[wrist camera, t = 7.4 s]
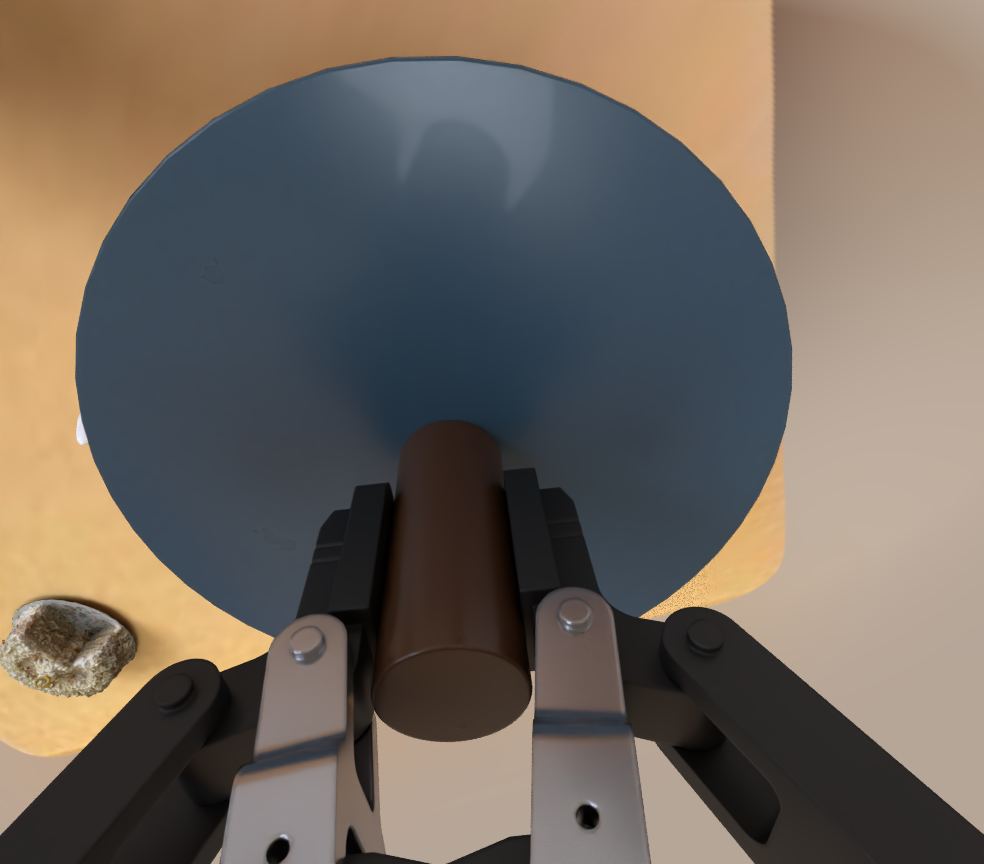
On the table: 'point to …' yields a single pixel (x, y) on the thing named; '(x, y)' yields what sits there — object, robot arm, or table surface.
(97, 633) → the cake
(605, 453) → the lid
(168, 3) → the table surface
